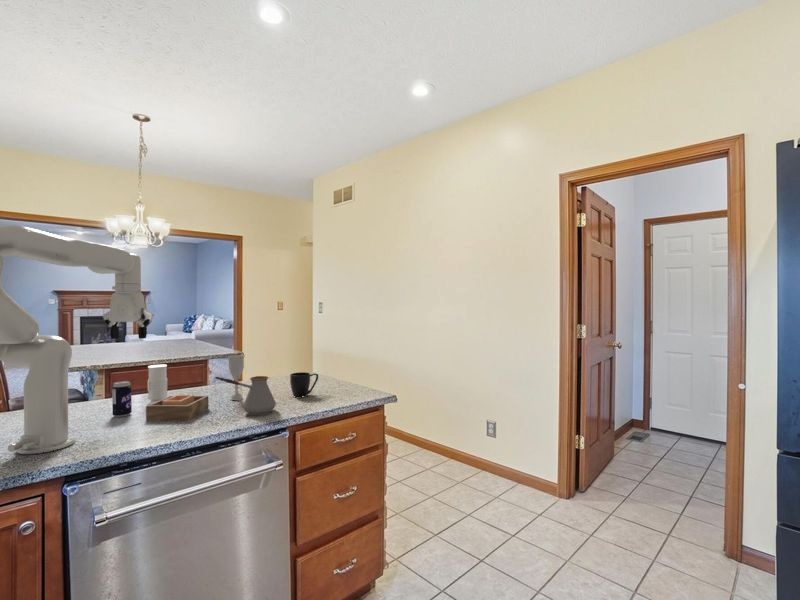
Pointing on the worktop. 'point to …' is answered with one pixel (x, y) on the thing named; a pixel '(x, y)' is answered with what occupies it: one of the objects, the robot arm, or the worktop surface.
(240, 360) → the chalice
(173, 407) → the walnut crate
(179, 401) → the terracotta crate
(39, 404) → the robot arm
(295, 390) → the mug
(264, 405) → the coffee pot
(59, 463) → the worktop surface
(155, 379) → the candle
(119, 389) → the beverage can
